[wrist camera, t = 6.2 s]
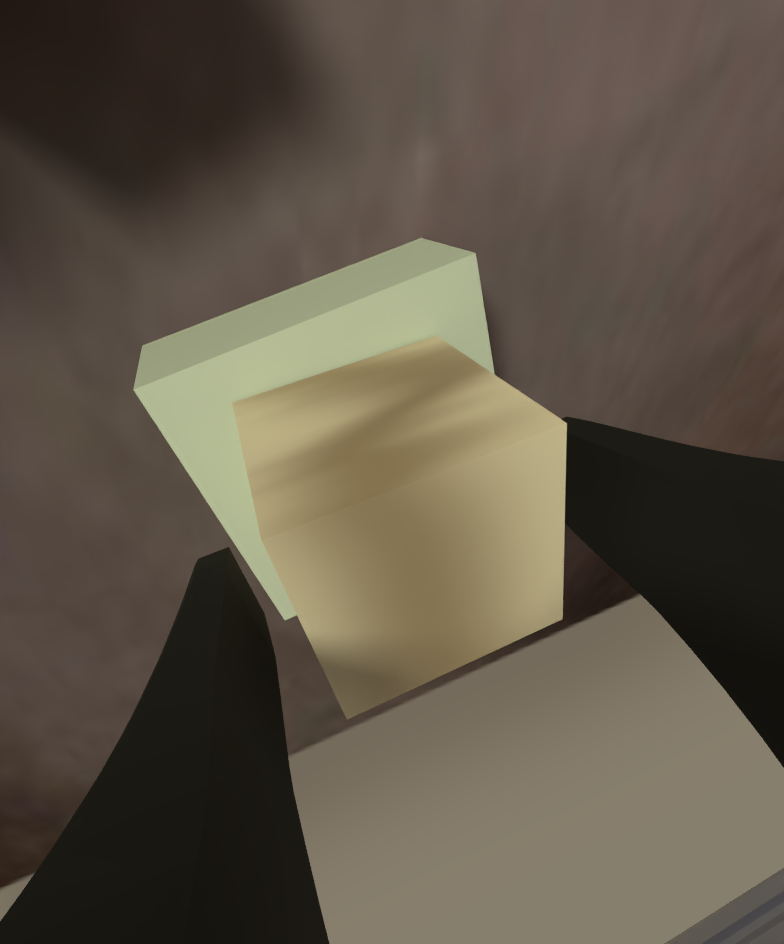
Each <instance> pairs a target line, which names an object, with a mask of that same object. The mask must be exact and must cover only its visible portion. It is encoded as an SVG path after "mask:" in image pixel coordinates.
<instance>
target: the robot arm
mask: <svg viewBox="0 0 784 944" xmlns="http://www.w3.org/2000/svg"><path fill="white" fill-rule="evenodd" d="M561 420H563V421H564V422H566V423H567V441H566V487H565V523H566V524H567V525H568V526H569V527H570V529H571V530H572V531H573V532H574V533H575V534H576V535H577V536H579V537H580V538H581V539H582V540H583V541H584V542H585V543H586V544H587V545H588V546H589V547H590V548H591V549H592V550H593V551H594V552H595V553H596V554H598V555H599V556H600V557H601V558H602V559H603V560H604V561H605V562H606V563H607V564H608V565H609V566H611V567H612V568H613V569H614V570H615V571H616V572H617V573H618V574H619V575H620V576H621V577H622V578H623V579H625V580H626V581H627V582H628V583H629V584H630V585H631V586H632V587H633V588H634V589H635V590H636V591H638V592H639V593H640V594H641V595H642V596H643V597H644V598H645V599H646V600H647V601H648V602H649V603H650V604H651V605H652V606H653V607H654V608H655V609H656V610H657V611H658V612H659V613H660V614H661V615H662V617H663V618H664V619H665V620H666V621H667V622H668V623H669V624H670V626H671V627H672V628H673V629H674V630H675V631H676V632H677V633H678V635H679V636H680V637H681V638H682V639H683V640H684V641H685V643H686V644H687V645H688V646H689V647H690V648H691V649H692V651H693V652H694V653H695V654H696V655H697V657H698V658H699V659H700V660H701V661H702V663H703V664H704V665H705V666H706V667H707V669H708V670H709V671H710V672H711V673H712V675H713V676H714V677H715V678H716V680H717V681H718V682H719V683H720V684H721V686H722V687H723V688H724V689H725V690H726V692H727V693H728V694H729V696H730V697H731V698H732V700H733V701H734V702H735V703H736V705H737V706H738V707H739V709H740V710H741V711H742V712H743V714H744V715H745V716H746V718H747V719H748V720H749V721H750V723H751V724H752V725H753V727H754V728H755V729H756V730H757V732H758V733H759V734H760V736H761V737H762V738H763V740H764V741H765V743H766V744H767V745H768V747H769V748H770V749H771V751H772V752H773V753H774V755H775V756H776V758H777V759H778V760H779V762H780V763H781V765H782V766H783V767H784V462H783V461H776V460H769V459H762V458H755V457H748V456H742V455H736V454H731V453H725V452H720V451H715V450H710V449H705V448H700V447H695V446H690V445H686V444H681V443H677V442H673V441H668V440H664V439H660V438H656V437H652V436H647V435H643V434H639V433H635V432H631V431H627V430H623V429H619V428H615V427H611V426H607V425H603V424H599V423H595V422H591V421H586V420H581V419H576V418H570V417H565V418H563V419H561ZM0 944H329V941H328V937H327V933H326V929H325V925H324V921H323V917H322V913H321V909H320V905H319V901H318V896H317V892H316V888H315V883H314V879H313V875H312V871H311V867H310V862H309V858H308V854H307V849H306V845H305V841H304V836H303V832H302V828H301V823H300V819H299V814H298V809H297V805H296V801H295V796H294V792H293V786H292V781H291V774H290V768H289V760H288V752H287V744H286V736H285V728H284V720H283V712H282V704H281V696H280V688H279V681H278V673H277V665H276V658H275V654H274V649H273V645H272V641H271V637H270V633H269V630H268V626H267V622H266V618H265V614H264V612H263V610H262V608H261V606H260V604H259V602H258V601H257V599H256V597H255V595H254V593H253V591H252V589H251V588H250V586H249V584H248V582H247V580H246V578H245V576H244V575H243V573H242V571H241V569H240V567H239V565H238V563H237V562H236V560H235V558H234V556H233V554H232V552H231V550H230V549H229V547H228V548H225V549H223V550H220V551H217V552H215V553H212V554H210V555H207V556H204V557H202V558H199V559H198V561H197V563H196V564H195V567H194V570H193V573H192V575H191V578H190V581H189V584H188V587H187V590H186V592H185V595H184V598H183V601H182V603H181V606H180V609H179V611H178V614H177V616H176V619H175V621H174V624H173V626H172V629H171V631H170V634H169V636H168V639H167V641H166V644H165V646H164V648H163V651H162V653H161V656H160V658H159V660H158V662H157V664H156V667H155V669H154V671H153V673H152V675H151V677H150V679H149V682H148V684H147V686H146V688H145V690H144V692H143V694H142V697H141V699H140V701H139V703H138V705H137V707H136V709H135V711H134V713H133V715H132V717H131V719H130V720H129V722H128V724H127V726H126V728H125V730H124V732H123V734H122V736H121V737H120V739H119V741H118V743H117V745H116V746H115V748H114V750H113V752H112V753H111V755H110V757H109V759H108V761H107V762H106V764H105V766H104V768H103V769H102V771H101V773H100V774H99V776H98V778H97V779H96V781H95V782H94V784H93V786H92V787H91V789H90V791H89V792H88V794H87V795H86V797H85V798H84V800H83V801H82V803H81V805H80V806H79V808H78V809H77V811H76V812H75V814H74V815H73V817H72V819H71V820H70V822H69V823H68V825H67V826H66V828H65V829H64V831H63V833H62V834H61V836H60V837H59V839H58V840H57V842H56V843H55V845H54V846H53V848H52V849H51V851H50V852H49V854H48V855H47V857H46V858H45V860H44V861H43V863H42V864H41V865H40V867H39V868H38V870H37V871H36V872H35V874H34V875H33V877H32V878H31V880H30V881H29V883H28V884H27V885H26V887H25V888H24V890H23V891H22V893H21V894H20V895H19V897H18V898H17V899H16V901H15V902H14V904H13V905H12V906H11V908H10V909H9V910H8V912H7V913H6V915H5V916H4V917H3V919H2V920H1V921H0ZM665 944H784V868H783V869H782V870H780V871H778V872H777V873H775V874H774V875H772V876H770V877H769V878H767V879H766V880H764V881H763V882H761V883H759V884H758V885H756V886H755V887H753V888H752V889H750V890H748V891H747V892H745V893H744V894H742V895H741V896H739V897H737V898H736V899H734V900H733V901H731V902H729V903H728V904H726V905H725V906H723V907H722V908H720V909H718V910H717V911H715V912H714V913H712V914H711V915H709V916H707V917H706V918H704V919H703V920H701V921H700V922H698V923H696V924H695V925H693V926H692V927H690V928H689V929H687V930H685V931H684V932H682V933H681V934H679V935H677V936H676V937H674V938H673V939H671V940H670V941H668V942H666V943H665Z"/></svg>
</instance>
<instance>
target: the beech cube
mask: <svg viewBox="0 0 784 944" xmlns="http://www.w3.org/2000/svg"><path fill="white" fill-rule="evenodd" d="M232 406H233V410H234V415H235V420H236V424H237V429H238V434H239V438H240V443H241V448H242V452H243V457H244V462H245V466H246V471H247V475H248V480H249V485H250V489H251V494H252V499H253V503H254V508H255V513H256V517H257V522H258V527H259V531H260V536H261V541H262V543H263V545H264V547H265V549H266V551H267V553H268V555H269V557H270V559H271V562H272V564H273V566H274V568H275V570H276V572H277V574H278V576H279V578H280V580H281V582H282V585H283V587H284V589H285V591H286V593H287V595H288V597H289V599H290V601H291V603H292V605H293V608H294V610H295V612H296V614H297V616H298V618H299V620H300V622H301V624H302V626H303V629H304V631H305V633H306V635H307V637H308V639H309V641H310V643H311V645H312V647H313V649H314V652H315V654H316V656H317V658H318V660H319V662H320V664H321V666H322V668H323V670H324V672H325V675H326V677H327V679H328V681H329V683H330V685H331V687H332V689H333V691H334V693H335V695H336V698H337V700H338V702H339V704H340V706H341V708H342V710H343V712H344V714H345V716H346V719H349V718H352V717H354V716H356V715H358V714H360V713H362V712H364V711H367V710H369V709H371V708H373V707H375V706H377V705H379V704H382V703H384V702H386V701H388V700H390V699H392V698H394V697H397V696H399V695H401V694H403V693H405V692H407V691H409V690H412V689H414V688H416V687H418V686H420V685H422V684H424V683H427V682H429V681H431V680H433V679H435V678H437V677H439V676H442V675H444V674H446V673H448V672H450V671H452V670H454V669H457V668H459V667H461V666H463V665H465V664H467V663H469V662H472V661H474V660H476V659H478V658H480V657H482V656H484V655H487V654H489V653H491V652H493V651H495V650H497V649H499V648H502V647H504V646H506V645H508V644H510V643H512V642H514V641H517V640H519V639H521V638H523V637H525V636H527V635H529V634H532V633H534V632H536V631H538V630H540V629H542V628H545V627H547V626H549V625H551V624H553V623H555V622H557V621H560V620H562V619H563V578H564V532H565V487H566V441H567V423H566V422H564V421H563V420H561V419H560V418H558V417H557V416H555V415H554V414H552V413H551V412H549V411H548V410H547V409H545V408H544V407H542V406H541V405H539V404H538V403H536V402H535V401H533V400H532V399H530V398H529V397H527V396H526V395H524V394H523V393H521V392H520V391H518V390H517V389H515V388H514V387H512V386H511V385H509V384H508V383H506V382H505V381H503V380H502V379H500V378H499V377H497V376H496V375H494V374H493V373H491V372H490V371H488V370H487V369H485V368H484V367H482V366H481V365H479V364H478V363H476V362H475V361H474V360H472V359H471V358H469V357H468V356H466V355H465V354H463V353H462V352H460V351H459V350H457V349H456V348H454V347H453V346H451V345H450V344H448V343H447V342H445V341H444V340H442V339H441V338H439V337H438V336H433V337H430V338H427V339H424V340H421V341H418V342H415V343H412V344H409V345H406V346H403V347H400V348H397V349H394V350H391V351H388V352H384V353H381V354H378V355H375V356H372V357H369V358H366V359H363V360H360V361H357V362H354V363H351V364H348V365H345V366H342V367H339V368H336V369H333V370H330V371H327V372H324V373H321V374H318V375H315V376H311V377H308V378H305V379H302V380H299V381H296V382H293V383H290V384H287V385H284V386H281V387H278V388H275V389H272V390H269V391H266V392H263V393H260V394H257V395H254V396H251V397H248V398H245V399H242V400H239V401H235V402H232Z"/></svg>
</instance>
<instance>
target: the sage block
mask: <svg viewBox="0 0 784 944" xmlns="http://www.w3.org/2000/svg"><path fill="white" fill-rule="evenodd" d="M433 336H438V337H439V338H441V339H442V340H444V341H445V342H447V343H448V344H450V345H451V346H453V347H454V348H456V349H457V350H459V351H460V352H462V353H463V354H465V355H466V356H468V357H469V358H471V359H472V360H474V361H475V362H476V363H478V364H479V365H481V366H482V367H484V368H485V369H487V370H488V371H490V372H491V373H493V374H494V375H495V373H494V367H493V361H492V354H491V348H490V341H489V335H488V329H487V322H486V316H485V310H484V303H483V297H482V291H481V284H480V278H479V271H478V265H477V259H476V253H474V252H470V251H466V250H463V249H459V248H455V247H452V246H448V245H445V244H441V243H437V242H434V241H430V240H427V239H423V238H420V239H417V240H415V241H412V242H410V243H407V244H404V245H402V246H399V247H397V248H394V249H391V250H389V251H386V252H384V253H381V254H379V255H376V256H373V257H371V258H368V259H366V260H363V261H360V262H358V263H355V264H353V265H350V266H347V267H345V268H342V269H340V270H337V271H335V272H332V273H329V274H327V275H324V276H322V277H319V278H316V279H314V280H311V281H309V282H306V283H304V284H301V285H298V286H296V287H293V288H291V289H288V290H285V291H283V292H280V293H278V294H275V295H272V296H270V297H267V298H265V299H262V300H260V301H257V302H254V303H252V304H249V305H247V306H244V307H241V308H239V309H236V310H234V311H231V312H228V313H226V314H223V315H221V316H218V317H216V318H213V319H210V320H208V321H205V322H203V323H200V324H197V325H195V326H192V327H190V328H187V329H184V330H182V331H179V332H177V333H174V334H172V335H169V336H166V337H164V338H161V339H159V340H156V341H153V342H151V343H148V344H146V345H143V346H142V350H141V355H140V360H139V365H138V370H137V375H136V380H135V384H134V389H133V390H134V391H135V393H136V394H137V396H138V397H139V399H140V401H141V402H142V404H143V405H144V407H145V408H146V410H147V411H148V413H149V414H150V416H151V417H152V419H153V420H154V422H155V423H156V425H157V426H158V428H159V429H160V431H161V432H162V434H163V436H164V437H165V439H166V440H167V442H168V443H169V445H170V446H171V448H172V449H173V451H174V452H175V454H176V455H177V457H178V458H179V460H180V461H181V463H182V464H183V466H184V467H185V469H186V471H187V472H188V474H189V475H190V477H191V478H192V480H193V481H194V483H195V484H196V486H197V487H198V489H199V490H200V492H201V493H202V495H203V496H204V498H205V499H206V501H207V502H208V504H209V506H210V507H211V509H212V510H213V512H214V513H215V515H216V516H217V518H218V519H219V521H220V522H221V524H222V525H223V527H224V528H225V530H226V531H227V533H228V534H229V536H230V537H231V539H232V541H233V542H234V544H235V545H236V547H237V548H238V550H239V551H240V553H241V554H242V556H243V557H244V559H245V560H246V562H247V563H248V565H249V566H250V568H251V569H252V571H253V573H254V574H255V576H256V577H257V579H258V580H259V582H260V583H261V585H262V586H263V588H264V589H265V591H266V592H267V594H268V595H269V597H270V598H271V600H272V601H273V603H274V604H275V606H276V608H277V609H278V611H279V612H280V614H281V615H282V617H283V618H284V620H287V619H289V618H291V617H293V616H295V615H297V614H296V612H295V610H294V608H293V605H292V603H291V601H290V599H289V597H288V595H287V593H286V591H285V589H284V587H283V585H282V582H281V580H280V578H279V576H278V574H277V572H276V570H275V568H274V566H273V564H272V562H271V559H270V557H269V555H268V553H267V551H266V549H265V547H264V545H263V543H262V541H261V536H260V531H259V527H258V522H257V517H256V513H255V508H254V503H253V499H252V494H251V489H250V485H249V480H248V475H247V471H246V466H245V462H244V457H243V452H242V448H241V443H240V438H239V434H238V429H237V424H236V420H235V415H234V410H233V406H232V402H235V401H239V400H242V399H245V398H248V397H251V396H254V395H257V394H260V393H263V392H266V391H269V390H272V389H275V388H278V387H281V386H284V385H287V384H290V383H293V382H296V381H299V380H302V379H305V378H308V377H311V376H315V375H318V374H321V373H324V372H327V371H330V370H333V369H336V368H339V367H342V366H345V365H348V364H351V363H354V362H357V361H360V360H363V359H366V358H369V357H372V356H375V355H378V354H381V353H384V352H388V351H391V350H394V349H397V348H400V347H403V346H406V345H409V344H412V343H415V342H418V341H421V340H424V339H427V338H430V337H433Z"/></svg>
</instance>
